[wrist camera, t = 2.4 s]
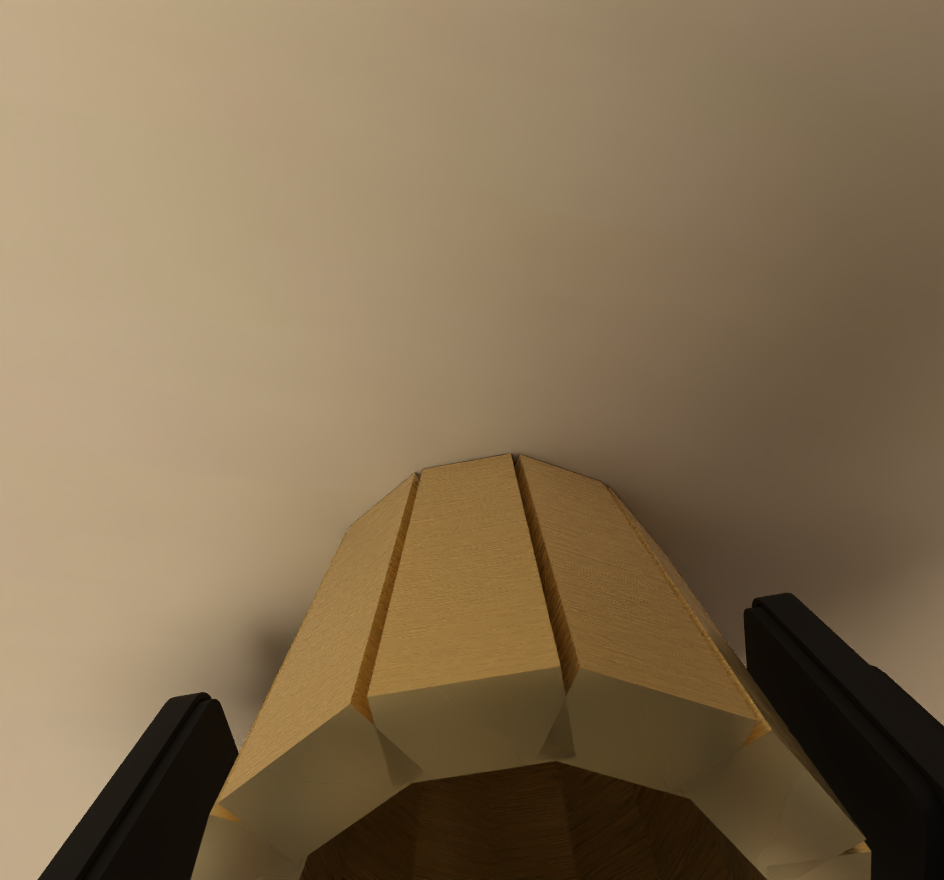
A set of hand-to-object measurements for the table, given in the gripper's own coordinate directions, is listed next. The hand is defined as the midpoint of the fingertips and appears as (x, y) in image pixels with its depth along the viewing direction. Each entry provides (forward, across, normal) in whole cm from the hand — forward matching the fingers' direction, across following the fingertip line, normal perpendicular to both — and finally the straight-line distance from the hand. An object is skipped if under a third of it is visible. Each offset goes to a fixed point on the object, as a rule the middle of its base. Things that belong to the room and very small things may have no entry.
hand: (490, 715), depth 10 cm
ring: (+2, 0, 0) cm, 2 cm away
